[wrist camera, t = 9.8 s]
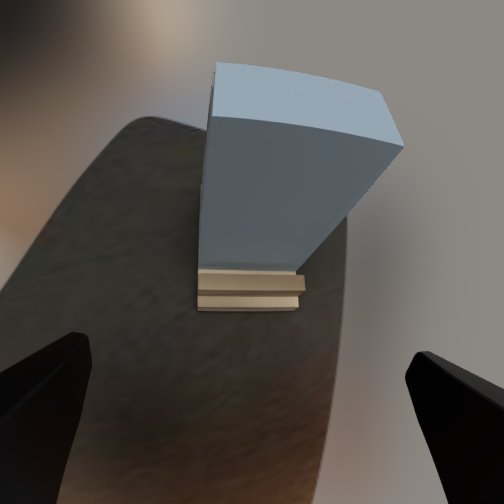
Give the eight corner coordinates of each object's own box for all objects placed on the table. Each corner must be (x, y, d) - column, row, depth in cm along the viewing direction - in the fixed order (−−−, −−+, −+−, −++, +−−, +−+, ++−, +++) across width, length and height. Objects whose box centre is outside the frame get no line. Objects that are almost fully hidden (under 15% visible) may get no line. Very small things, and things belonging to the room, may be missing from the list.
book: (295, 271, 21) (404, 146, 10) (198, 269, 20) (212, 115, 8) (291, 231, 22) (380, 91, 11) (199, 227, 21) (216, 62, 9)
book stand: (293, 310, 21) (393, 234, 10) (197, 310, 20) (204, 224, 9) (282, 198, 25) (342, 77, 14) (200, 193, 24) (214, 57, 13)
